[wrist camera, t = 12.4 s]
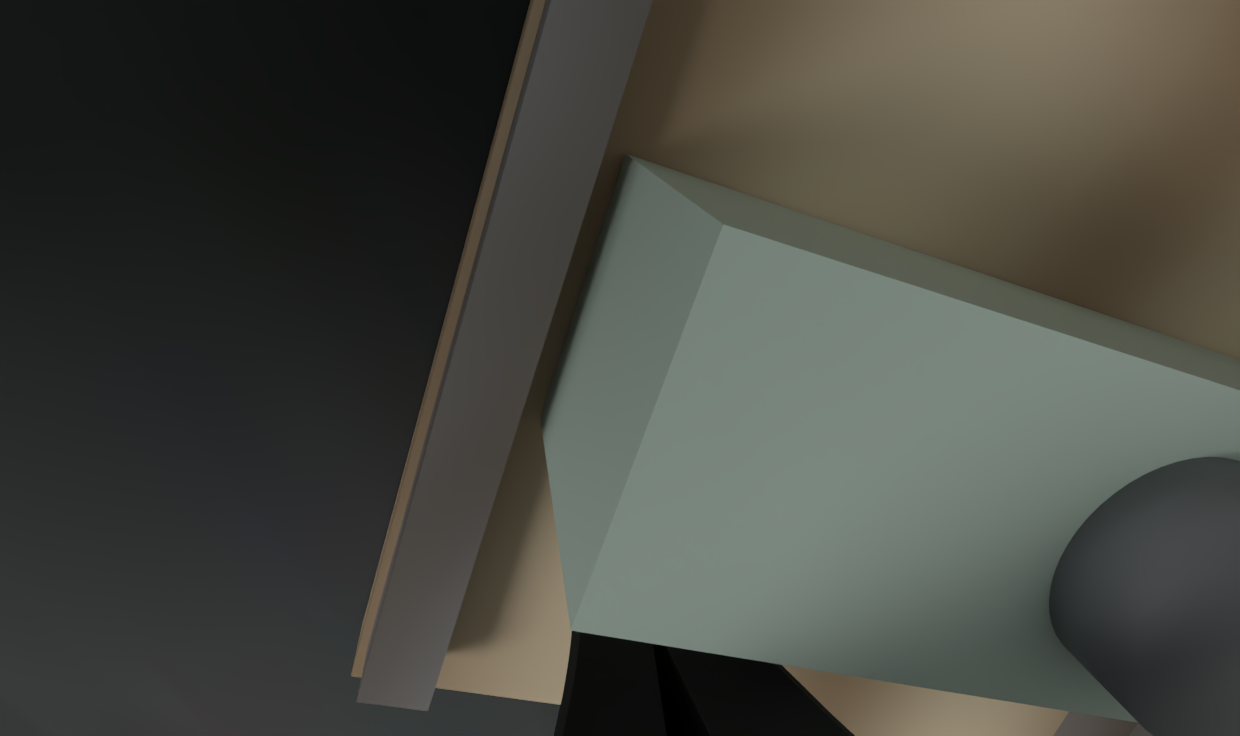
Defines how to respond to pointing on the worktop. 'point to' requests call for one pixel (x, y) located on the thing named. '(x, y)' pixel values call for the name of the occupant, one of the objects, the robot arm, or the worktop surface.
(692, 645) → the slider bar
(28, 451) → the worktop surface
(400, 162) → the worktop surface
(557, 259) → the oak jig
